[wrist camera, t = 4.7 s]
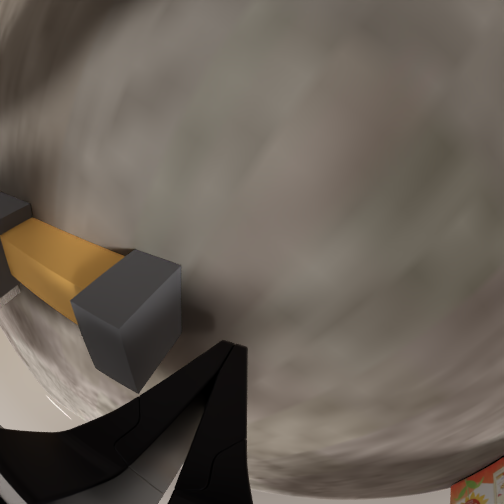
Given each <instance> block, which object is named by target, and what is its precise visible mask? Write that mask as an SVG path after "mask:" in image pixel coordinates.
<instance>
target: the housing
mask: <svg viewBox="0 0 504 504" xmlns="http://www.w3.org/2000/svg"><path fill="white" fill-rule="evenodd" d="M20 292H21V291H20V289H19V286H18V285H17V286H16V287H14V288H13V289H12V290H10V291H9V292H8V293H7V294H5V295H4V296H3V297H2V298H0V308H1V307H3V306H4V305H5V304H6V303H7V302H9V301H10V300H11V299H12V298H14V297H15V296H16V295H17V294H19V293H20Z"/></svg>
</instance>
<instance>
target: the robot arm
mask: <svg viewBox="0 0 504 504" xmlns="http://www.w3.org/2000/svg"><path fill="white" fill-rule="evenodd" d="M247 361H248V348H247V347H246V346H242V345H239V344H234V343H232V342H229V341H226V340H222V341H220V342H219V343H217V344H216V345H215V346H213V347H212V348H210V349H209V350H208V351H206V352H205V353H203V354H202V355H200V356H199V357H197V358H196V359H195V360H193V361H192V362H190V363H189V364H187V365H186V366H184V367H183V368H181V369H180V370H178V371H177V372H175V373H174V374H172V375H171V376H169V377H168V378H166V379H165V380H163V381H162V382H160V383H159V384H157V385H156V386H154V387H153V388H151V389H149V390H148V391H146V392H145V393H143V394H142V395H140V397H137V398H135V399H133V400H132V401H130V402H129V403H127V404H125V405H123V406H122V407H120V408H118V409H116V410H114V411H112V412H110V413H108V414H106V415H104V416H101V417H99V418H97V419H94V420H92V421H90V422H87V423H85V424H82V425H80V426H77V427H75V428H72V429H70V430H66V431H61V432H32V431H19V430H10V429H4V428H3V427H2V426H1V425H0V504H158V503H159V501H160V500H161V498H162V497H163V495H164V493H165V492H166V490H167V489H168V487H169V485H170V484H171V482H172V481H173V479H174V477H175V476H176V474H177V472H178V471H179V469H180V468H181V466H182V464H183V463H184V464H183V467H182V470H181V472H180V475H179V477H178V480H177V483H176V485H175V490H174V491H173V493H172V495H171V498H170V500H169V502H168V504H253V501H252V495H251V489H250V483H249V476H248V468H247V440H246V439H247ZM184 461H185V462H184Z"/></svg>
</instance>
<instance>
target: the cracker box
mask: <svg viewBox="0 0 504 504" xmlns="http://www.w3.org/2000/svg"><path fill="white" fill-rule="evenodd" d="M450 504H504V457H503V458H501V459H500V460H498V461H497V462H495V463H493V464H492V465H490V466H488V467H486V468H484V469H483V470H481V471H479V472H477V473H475V474H474V475H472V476H470V477H468V478H466V479H464V480H461V481H459V482H457V483H456V484H454V485H452V486H451V498H450Z"/></svg>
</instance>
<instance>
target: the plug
mask: <svg viewBox="0 0 504 504" xmlns="http://www.w3.org/2000/svg"><path fill="white" fill-rule="evenodd" d="M20 283H22V284H23V285H24V286H25V287H27V288H28V289H29V290H30V291H32V292H33V293H34V294H35V295H37V296H38V297H39V298H41V299H42V300H43V301H45V302H46V303H47V304H49V305H50V306H51V307H53V308H54V309H55V310H57V311H58V312H60V313H61V314H62V315H64V316H65V317H67V318H68V319H70V320H71V321H73V322H74V323H76V324H77V325H78V326H79V329H80V331H81V334H82V337H83V339H84V342H85V344H86V347H87V349H88V352H89V354H90V356H91V359H92V361H93V363H94V365H95V368H96V369H98V370H99V371H101V372H102V373H104V374H105V375H107V376H109V377H110V378H112V379H114V380H115V381H117V382H119V383H120V384H122V385H124V386H125V387H127V388H129V389H131V390H132V391H134V392H136V393H138V394H139V392H140V391H141V389H142V388H143V387H144V385H145V384H146V382H147V381H148V380H149V378H150V377H151V375H152V374H153V373H154V371H155V370H156V368H157V367H158V365H159V364H160V363H161V361H162V360H163V358H164V357H165V356H166V354H167V353H168V351H169V350H170V349H171V347H172V346H173V344H174V343H175V342H176V340H177V339H178V338H179V336H180V335H181V333H182V327H181V265H179V264H176V263H173V262H170V261H167V260H165V259H162V258H159V257H156V256H153V255H150V254H148V253H145V252H142V251H139V250H136V249H135V250H133V251H132V252H130V253H129V254H128V255H127V256H123V255H121V254H118V253H115V252H113V251H110V250H108V249H105V248H103V247H101V246H98V245H96V244H93V243H91V242H88V241H86V240H84V239H81V238H79V237H76V236H74V235H72V234H69V233H67V232H65V231H62V230H60V229H58V228H56V227H53V226H51V225H49V224H47V223H44V222H42V221H40V220H38V219H36V218H33V217H32V211H31V205H30V203H28V202H25V201H22V200H20V199H17V198H15V197H12V196H10V195H7V194H5V193H2V192H0V298H2V297H3V296H4V295H5V294H7V293H8V292H9V291H10V290H12V289H13V288H14V287H16V286H17V285H18V284H20Z"/></svg>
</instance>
